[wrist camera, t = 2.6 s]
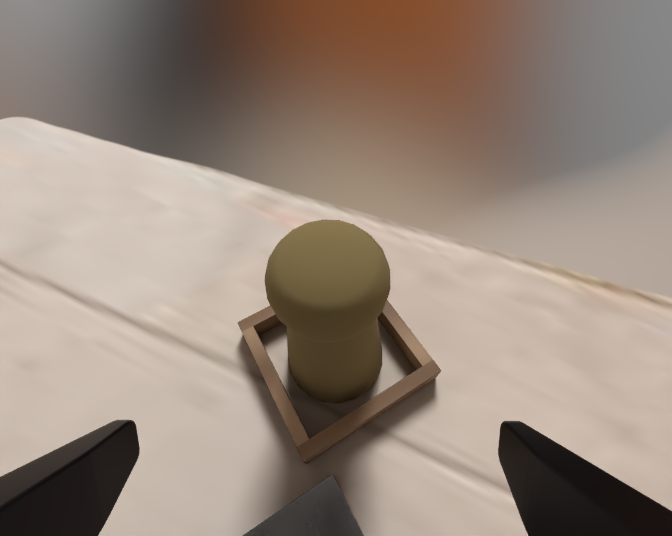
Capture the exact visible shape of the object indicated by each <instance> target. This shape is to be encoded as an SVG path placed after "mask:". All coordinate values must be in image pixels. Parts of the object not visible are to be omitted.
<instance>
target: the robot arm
mask: <svg viewBox="0 0 672 536" xmlns="http://www.w3.org/2000/svg"><path fill="white" fill-rule="evenodd" d="M498 455H499V460H500V463H501V466H502V468H503V471H504V474H505V476H506V479H507V482H508V484H509V487H510V490H511V492H512V495H513V498H514V500H515V503H516V506H517V508H518V511H519V514H520V516H521V519H522V521H523V524H524V526H525V529H526V531H527V533H528V536H672V511H671V510H669V509H667V508H666V507H664V506H662V505H661V504H659V503H657V502H655V501H654V500H652V499H650V498H649V497H647V496H645V495H644V494H642V493H640V492H639V491H637V490H635V489H634V488H632V487H630V486H629V485H627V484H625V483H623V482H622V481H620V480H618V479H617V478H615V477H613V476H612V475H610V474H608V473H607V472H605V471H603V470H602V469H600V468H598V467H597V466H595V465H593V464H591V463H590V462H588V461H586V460H585V459H583V458H581V457H580V456H578V455H576V454H575V453H573V452H571V451H570V450H568V449H566V448H565V447H563V446H561V445H559V444H558V443H556V442H554V441H553V440H551V439H549V438H548V437H546V436H544V435H543V434H541V433H539V432H538V431H536V430H534V429H533V428H531V427H529V426H528V425H526V424H524V423H522V422H520V421H504V422H503V423H502V424H501V427H500V437H499V448H498ZM138 456H139V442H138V435H137V429H136V424H135V422H134V421H132V420H115V421H113V422H111V423H109V424H107V425H105V426H103V427H101V428H99V429H97V430H95V431H93V432H91V433H89V434H87V435H85V436H83V437H80V438H78V439H76V440H74V441H72V442H70V443H68V444H66V445H64V446H62V447H60V448H58V449H56V450H54V451H52V452H50V453H48V454H46V455H44V456H42V457H40V458H38V459H36V460H34V461H32V462H30V463H28V464H26V465H24V466H22V467H20V468H18V469H16V470H14V471H12V472H9V473H7V474H5V475H3V476H1V477H0V536H98V535H99V533H100V531H101V530H102V528H103V526H104V524H105V522H106V521H107V519H108V517H109V515H110V513H111V511H112V509H113V507H114V505H115V503H116V501H117V499H118V497H119V495H120V493H121V491H122V489H123V487H124V485H125V483H126V481H127V479H128V477H129V475H130V473H131V471H132V469H133V467H134V465H135V463H136V461H137V459H138Z"/></svg>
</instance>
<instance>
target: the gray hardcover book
mask: <svg viewBox="0 0 672 536" xmlns="http://www.w3.org/2000/svg"><path fill="white" fill-rule="evenodd" d="M243 536H364V535H363V533H362V531H361V529H360V527H359V525H358V523H357V521H356V519H355V517H354V515H353V513H352V511H351V509H350V507H349V505H348V503H347V501H346V499H345V497H344V495H343V493H342V491H341V489H340V487H339V485H338V483H337V481H336V480H335V478H334V476H333V474H332V475H331V476H329V477H328V478H326V479H325V480H323V481H322V482H320V483H319V484H317V485H316V486H315V487H313V488H312V489H310V490H309V491H307V492H306V493H304V494H303V495H301V496H300V497H299V498H297V499H296V500H294V501H293V502H291V503H290V504H288V505H287V506H285V507H284V508H282V509H281V510H280V511H278V512H277V513H275V514H274V515H272V516H271V517H269V518H268V519H266V520H265V521H264V522H262V523H261V524H259V525H258V526H256V527H255V528H253V529H252V530H250V531H249V532H247V533H246V534H245V535H243Z"/></svg>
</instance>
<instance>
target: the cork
mask: <svg viewBox="0 0 672 536" xmlns="http://www.w3.org/2000/svg"><path fill="white" fill-rule="evenodd" d="M265 286H266V293H267V299H268V301H269V303H270V305H271V307H272V309H273V311H274V312H275V314H276V316H277V317H278V319H279V321H281V322H282V323H283V324H284V325H285V326H287V343H288V359H289V365H290V371H291V374H292V376H293V377H294V379H295V381H296V383H297V385H298V386H299V387H300V388H301V389H302V390H303V391H305V392H306V393H307V394H308V395H309V396H311V397H313V398H316V399H318V400H320V401H323V402H333V403H341V402H345V401H349V400H353V399H355V398H357V397H358V396H360V395H361V394H363V393H364V392H366V391H367V390H368V389H369V388H370V387H371V385H372V384H373V383H374V382H375V380H376V379H377V377H378V374H379V371H380V368H381V365H382V346H381V339H380V332H379V325H378V319H377V317H378V316H379V315H380V314H381V312H382V311H383V309H384V306H385V303H386V300H387V298H388V295H389V291H390V269H389V265H388V262H387V260H386V257H385V254H384V252H383V249H382V248H381V247H380V246H379V244H378V243H377V242H376V241H375V240H374V239H373V237H372V236H370V235H369V234H368V233H367V232H365V231H363V230H362V229H360V228H359V227H357V226H355V225H353V224H350V223H346V222H343V221H340V220H319V221H314V222H309V223H306V224H304V225H302V226H300V227H298V228H296V229H294V230H292V231H291V232H290V233H289V234H287V235H286V236H285V237H284V238H283V239H282V240H281V241H280V242H279V243H278V244H277V246H276V247H275V249H274V251H273V252H272V254H271V256H270V257H269V260H268V264H267V269H266V274H265Z"/></svg>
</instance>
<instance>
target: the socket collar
mask: <svg viewBox="0 0 672 536" xmlns="http://www.w3.org/2000/svg"><path fill="white" fill-rule="evenodd" d="M378 318H379V320H380V321H381V323H382V324H383V325H384V327H385V328H386V330H387V331H388V332H389V334H390V335H391V336H392V338H393V339H394V341H395V342H396V343H397V345H398V346H399V347H400V349H401V350H402V352H403V353H404V354H405V356H406V357H407V359H408V360H409V361H410V363H411V364H412V365H413V367H414V368H415V370H416V371H414V372H413V373H411V374H410V375H408V376H407V377H405V378H403V379H402V380H400V381H399V382H397V383H396V384H394V385H393V386H391V387H389V388H388V389H386V390H385V391H383V392H382V393H380V394H379V395H377V396H376V397H374V398H372V399H371V400H369V401H368V402H366V403H365V404H363V405H362V406H360V407H358V408H357V409H355V410H354V411H352V412H351V413H349V414H348V415H346V416H344V417H343V418H341V419H340V420H338V421H337V422H335V423H334V424H332V425H330V426H329V427H327V428H326V429H324V430H323V431H321V432H320V433H318V434H316V435H315V436H313V437H312V438H309V436H308V434H307V432H306V430H305V428H304V426H303V424H302V422H301V420H300V418H299V416H298V414H297V412H296V410H295V408H294V406H293V404H292V402H291V400H290V398H289V396H288V394H287V392H286V390H285V388H284V386H283V384H282V382H281V380H280V378H279V376H278V374H277V372H276V370H275V368H274V366H273V364H272V362H271V360H270V358H269V356H268V354H267V352H266V350H265V348H264V346H263V344H262V342H261V340H260V338H259V336H258V335H260V334H261V333H263V332H265V331H267V330H269V329H271V328H273V327H275V326H276V325H278V324H280V323H282V322H281V321H279V319H278V317H277V316H276V314H275V312H274V311H273V309H272V307H271V305H270V306H268V307H267V308H265V309H263V310H261V311H259V312H257V313H255V314H253V315H251V316H249V317H247V318H245V319H243V320H241V321H239V322H238V325H239V327H240V329H241V331H242V333H243V335H244V337H245V339H246V342H247V344H248V346H249V348H250V350H251V352H252V354H253V356H254V358H255V361H256V363H257V365H258V367H259V369H260V371H261V373H262V375H263V378H264V380H265V382H266V384H267V386H268V388H269V390H270V392H271V394H272V397H273V399H274V401H275V403H276V405H277V407H278V409H279V411H280V413H281V416H282V418H283V420H284V422H285V424H286V426H287V428H288V430H289V432H290V435H291V437H292V439H293V441H294V443H295V445H296V447H297V449H298V452H299V454H300V456H301V458H302V460H303V462H305V463H308V462H309V461H311V460H312V459H314V458H315V457H317V456H318V455H320V454H321V453H323V452H324V451H326V450H328V449H329V448H331V447H332V446H334V445H335V444H337V443H338V442H340V441H341V440H343V439H344V438H346V437H347V436H349V435H350V434H352V433H353V432H355V431H356V430H358V429H359V428H361V427H362V426H364V425H365V424H367V423H368V422H370V421H371V420H373V419H374V418H376V417H377V416H379V415H380V414H382V413H383V412H385V411H386V410H388V409H389V408H391V407H392V406H394V405H395V404H397V403H398V402H400V401H401V400H403V399H405V398H406V397H408V396H409V395H411V394H412V393H414V392H415V391H417V390H418V389H420V388H421V387H423V386H424V385H426V384H427V383H429V382H430V381H432V380H433V379H435V378H436V377H437V376H438V374H439V373H440V371H441V370H440V368H439V367H438V366H437V364H436V363H435V362H434V360H433V359H432V358H431V356H430V355H429V354H428V353H427V351H426V350H425V349H424V347H423V346H422V345H421V343H420V342H419V341H418V339H417V338H416V337H415V336H414V334H413V333H412V332H411V330H410V329H409V328H408V326H407V325H406V324H405V322H404V321H403V320H402V319H401V317H400V316H399V315H398V313H397V312H396V311H395V309H394V308H393V307H392V305H391V304H390V303H389V302H388V300H386V303H385V306H384V309H383V311H382V312H381V314H380V315H379V316H378Z"/></svg>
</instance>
